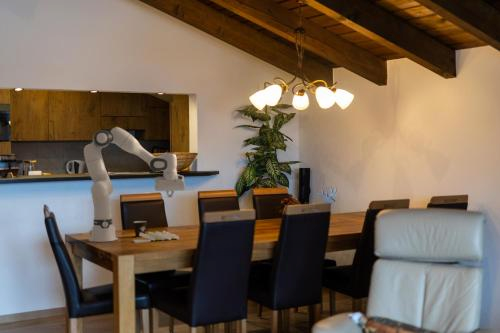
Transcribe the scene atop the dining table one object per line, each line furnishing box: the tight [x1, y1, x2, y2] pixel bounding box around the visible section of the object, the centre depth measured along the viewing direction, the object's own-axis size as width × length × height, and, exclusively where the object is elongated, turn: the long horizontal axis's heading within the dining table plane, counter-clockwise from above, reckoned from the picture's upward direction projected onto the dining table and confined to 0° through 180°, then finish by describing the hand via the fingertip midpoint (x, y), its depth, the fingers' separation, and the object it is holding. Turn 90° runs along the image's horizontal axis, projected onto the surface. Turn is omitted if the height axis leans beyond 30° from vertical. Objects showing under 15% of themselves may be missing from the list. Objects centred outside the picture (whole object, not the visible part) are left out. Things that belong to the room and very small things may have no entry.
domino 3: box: [147, 231, 166, 242], centre depth 437 cm, size 5×2×10 cm
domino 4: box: [154, 231, 173, 241], centre depth 439 cm, size 5×2×10 cm
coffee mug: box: [133, 220, 151, 238], centre depth 459 cm, size 12×9×10 cm
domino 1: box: [132, 238, 152, 244], centre depth 434 cm, size 5×2×10 cm
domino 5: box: [162, 230, 180, 240], centre depth 441 cm, size 5×2×10 cm
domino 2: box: [139, 233, 156, 242], centre depth 436 cm, size 5×2×10 cm
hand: (169, 197), depth 451 cm, fingers closed
